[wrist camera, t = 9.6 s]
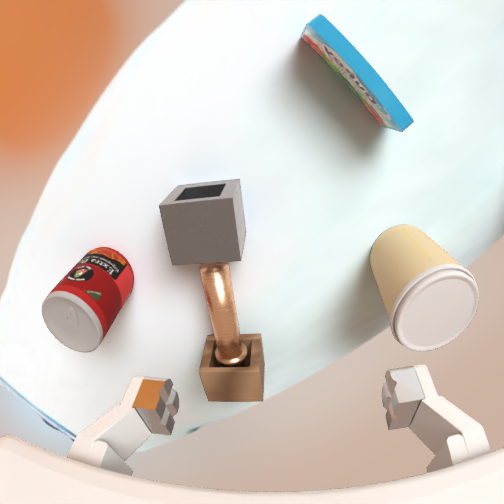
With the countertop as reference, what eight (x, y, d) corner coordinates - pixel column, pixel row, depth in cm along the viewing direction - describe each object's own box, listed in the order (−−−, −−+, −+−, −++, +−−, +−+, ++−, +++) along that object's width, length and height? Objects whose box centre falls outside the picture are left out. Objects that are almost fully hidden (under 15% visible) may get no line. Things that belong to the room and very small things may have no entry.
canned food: (133, 248, 37) (92, 301, 27) (138, 301, 41) (107, 360, 31) (80, 241, 37) (33, 288, 27) (89, 293, 41) (51, 344, 31)
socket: (260, 333, 42) (258, 371, 36) (264, 364, 44) (263, 401, 38) (207, 335, 42) (198, 372, 36) (215, 365, 45) (208, 401, 39)
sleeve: (239, 178, 32) (232, 197, 27) (246, 232, 35) (241, 260, 29) (178, 185, 33) (158, 205, 27) (187, 237, 36) (172, 265, 30)
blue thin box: (300, 36, 25) (307, 22, 20) (311, 28, 25) (320, 12, 19) (380, 125, 29) (403, 132, 23) (390, 117, 28) (415, 122, 23)
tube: (235, 255, 35) (231, 275, 31) (251, 360, 42) (249, 382, 38) (199, 258, 35) (191, 277, 32) (222, 360, 42) (218, 382, 39)
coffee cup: (414, 292, 38) (450, 356, 27) (351, 279, 37) (376, 349, 26) (444, 227, 33) (497, 280, 23) (378, 207, 33) (422, 261, 22)
